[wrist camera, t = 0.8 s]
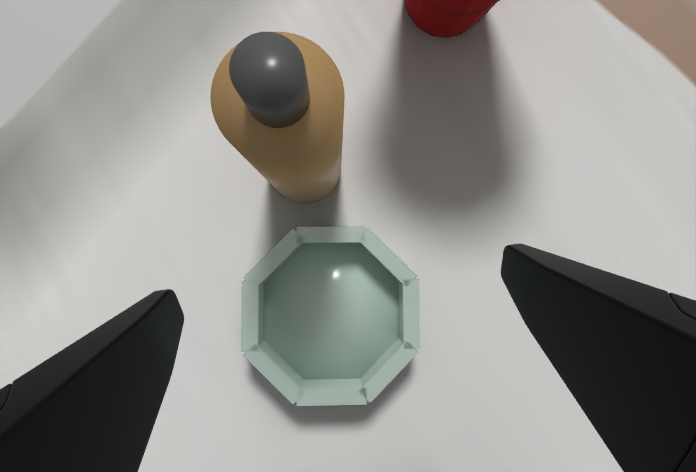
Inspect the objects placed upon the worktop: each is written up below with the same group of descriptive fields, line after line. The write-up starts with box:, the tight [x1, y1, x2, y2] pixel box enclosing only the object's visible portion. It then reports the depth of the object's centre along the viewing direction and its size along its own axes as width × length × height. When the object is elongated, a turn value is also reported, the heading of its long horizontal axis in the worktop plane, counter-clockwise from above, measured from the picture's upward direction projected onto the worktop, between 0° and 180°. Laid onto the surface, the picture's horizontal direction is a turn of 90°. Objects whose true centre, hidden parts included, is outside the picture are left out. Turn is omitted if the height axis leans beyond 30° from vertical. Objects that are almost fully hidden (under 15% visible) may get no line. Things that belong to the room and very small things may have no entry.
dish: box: [242, 226, 420, 406], centre depth 22 cm, size 11×11×2 cm
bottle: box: [211, 32, 344, 203], centre depth 17 cm, size 5×5×13 cm
